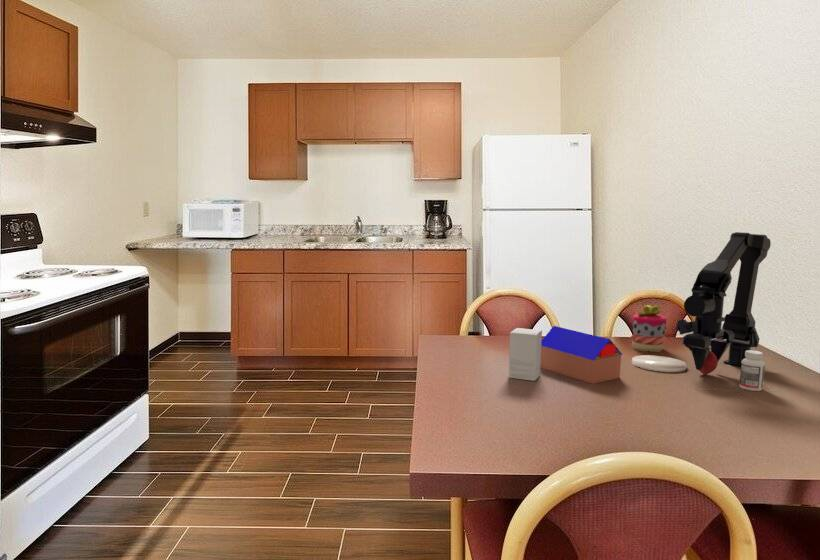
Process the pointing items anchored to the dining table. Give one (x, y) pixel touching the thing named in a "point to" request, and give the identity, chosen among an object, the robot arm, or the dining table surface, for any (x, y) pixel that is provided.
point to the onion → (709, 363)
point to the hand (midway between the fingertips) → (706, 367)
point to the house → (580, 355)
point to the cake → (648, 330)
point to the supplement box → (525, 354)
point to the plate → (659, 363)
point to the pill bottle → (752, 371)
